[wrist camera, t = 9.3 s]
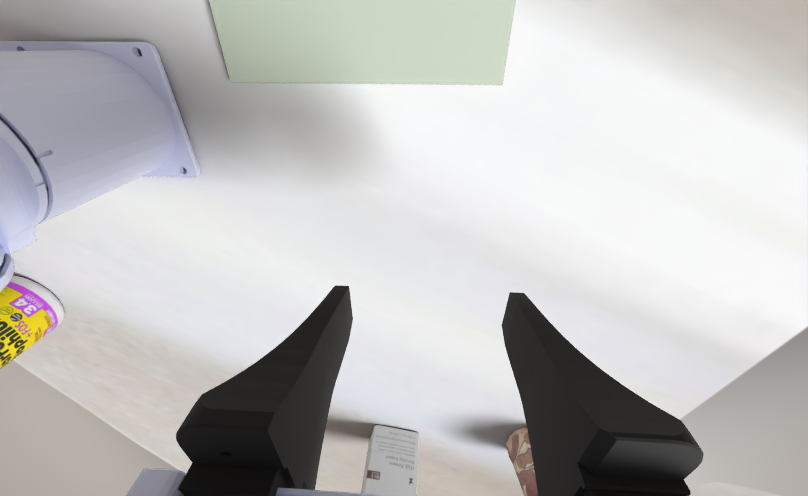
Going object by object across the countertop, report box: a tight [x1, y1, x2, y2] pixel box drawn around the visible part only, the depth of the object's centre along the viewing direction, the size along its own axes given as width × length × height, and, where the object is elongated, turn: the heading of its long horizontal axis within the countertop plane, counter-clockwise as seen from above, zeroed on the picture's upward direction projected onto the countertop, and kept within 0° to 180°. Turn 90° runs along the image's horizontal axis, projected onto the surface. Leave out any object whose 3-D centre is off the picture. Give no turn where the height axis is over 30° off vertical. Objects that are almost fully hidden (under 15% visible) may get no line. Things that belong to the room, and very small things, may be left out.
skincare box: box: [361, 425, 419, 496], centre depth 36 cm, size 6×4×12 cm
